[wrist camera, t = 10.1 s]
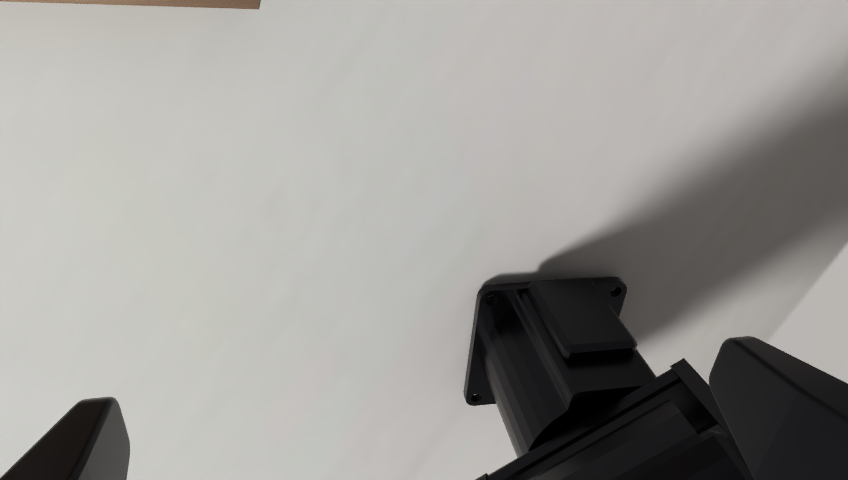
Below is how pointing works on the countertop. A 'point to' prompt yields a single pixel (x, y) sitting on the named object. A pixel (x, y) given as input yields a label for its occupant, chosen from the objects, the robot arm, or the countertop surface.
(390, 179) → the countertop surface
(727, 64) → the countertop surface
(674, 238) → the countertop surface
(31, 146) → the countertop surface
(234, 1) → the cutting board
